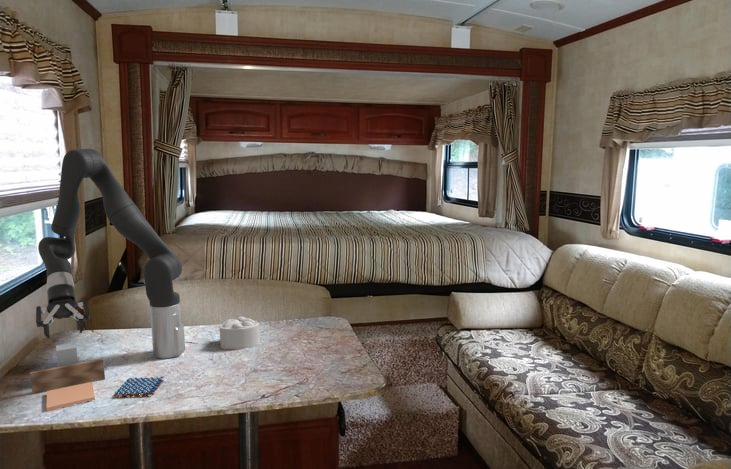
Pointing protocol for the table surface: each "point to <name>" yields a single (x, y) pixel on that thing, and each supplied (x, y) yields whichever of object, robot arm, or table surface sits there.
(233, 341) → the lumpy-topped squat cylinder
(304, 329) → the table surface
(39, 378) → the walnut screen
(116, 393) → the woven mat
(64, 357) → the plain grey block
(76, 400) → the terracotta tile
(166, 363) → the table surface
